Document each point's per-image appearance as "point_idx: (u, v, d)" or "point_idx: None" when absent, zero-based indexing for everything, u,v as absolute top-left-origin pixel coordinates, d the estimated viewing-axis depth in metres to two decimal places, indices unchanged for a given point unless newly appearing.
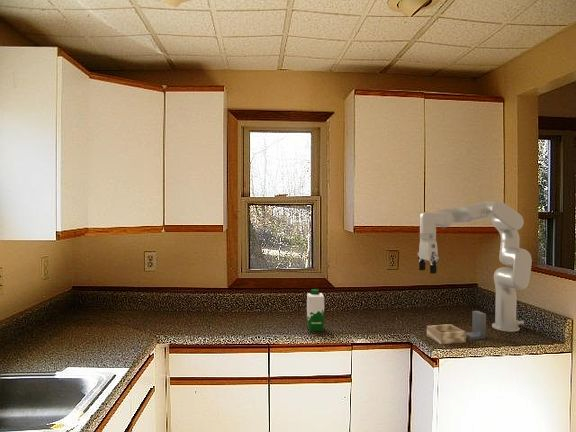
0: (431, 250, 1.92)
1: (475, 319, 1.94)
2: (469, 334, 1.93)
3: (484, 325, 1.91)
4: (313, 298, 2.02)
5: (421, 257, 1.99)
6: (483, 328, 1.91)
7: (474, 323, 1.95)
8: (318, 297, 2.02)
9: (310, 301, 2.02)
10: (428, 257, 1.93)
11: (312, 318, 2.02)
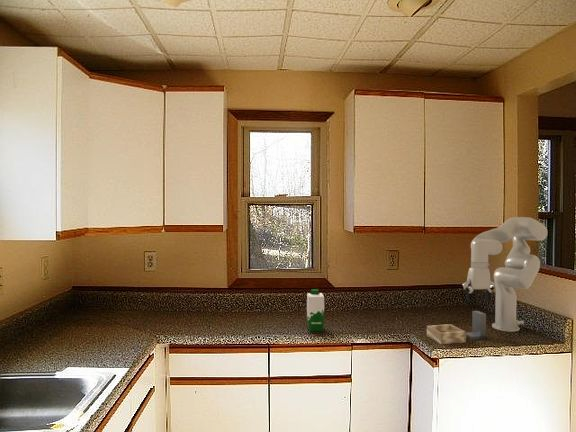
0: None
1: (475, 319, 1.94)
2: (469, 334, 1.93)
3: (484, 325, 1.91)
4: (313, 298, 2.02)
5: (477, 287, 1.91)
6: (483, 328, 1.91)
7: (474, 323, 1.95)
8: (318, 297, 2.02)
9: (310, 301, 2.02)
10: (489, 285, 1.92)
11: (312, 318, 2.02)
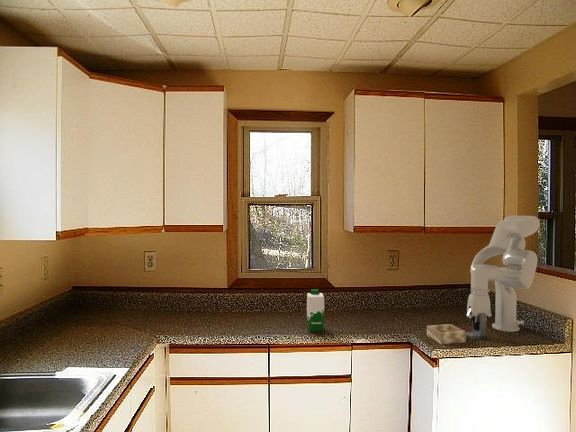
0: None
1: None
2: (469, 334, 1.93)
3: (484, 325, 1.91)
4: (313, 298, 2.02)
5: (478, 314, 1.91)
6: (483, 328, 1.91)
7: None
8: (318, 297, 2.02)
9: (310, 301, 2.02)
10: (489, 312, 1.92)
11: (312, 318, 2.02)
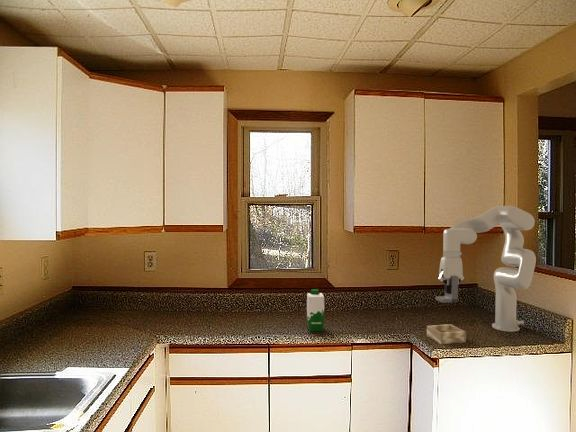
0: None
1: None
2: (441, 297, 1.90)
3: (456, 288, 1.88)
4: (313, 298, 2.02)
5: (449, 277, 1.88)
6: (455, 291, 1.88)
7: None
8: (318, 297, 2.02)
9: (310, 301, 2.02)
10: (461, 274, 1.89)
11: (312, 318, 2.02)
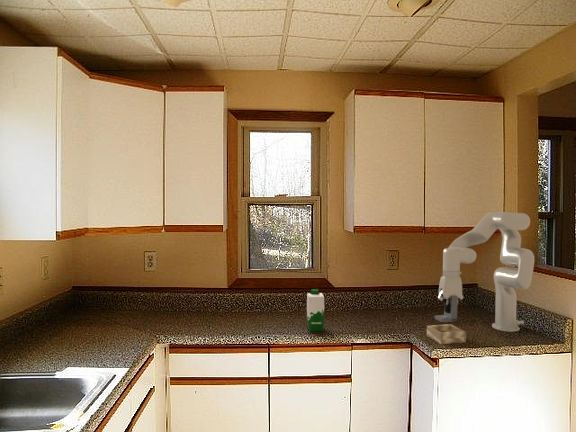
0: None
1: None
2: (440, 317, 1.90)
3: (455, 307, 1.88)
4: (313, 298, 2.02)
5: (449, 296, 1.88)
6: (454, 310, 1.88)
7: None
8: (318, 297, 2.02)
9: (310, 301, 2.02)
10: (460, 294, 1.90)
11: (312, 318, 2.02)
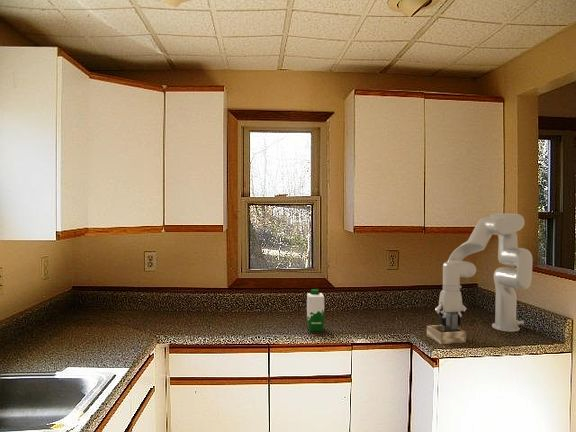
0: None
1: (447, 319, 1.92)
2: None
3: (456, 325, 1.88)
4: (313, 298, 2.02)
5: (449, 310, 1.89)
6: (455, 328, 1.88)
7: (446, 323, 1.92)
8: (318, 297, 2.02)
9: (310, 301, 2.02)
10: (461, 308, 1.90)
11: (312, 318, 2.02)
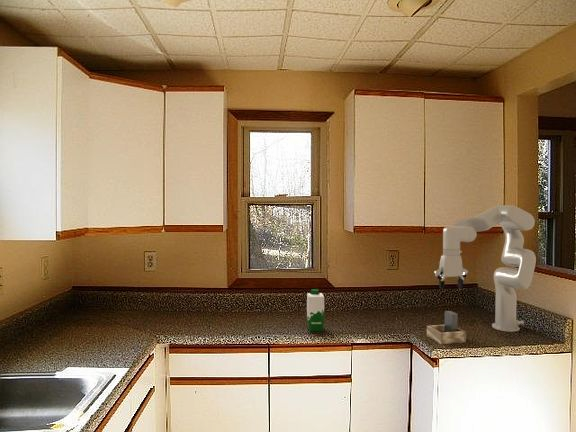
0: None
1: (447, 319, 1.92)
2: None
3: (456, 325, 1.88)
4: (313, 298, 2.02)
5: (449, 275, 1.88)
6: (455, 328, 1.88)
7: (446, 323, 1.92)
8: (318, 297, 2.02)
9: (310, 301, 2.02)
10: (461, 272, 1.89)
11: (312, 318, 2.02)
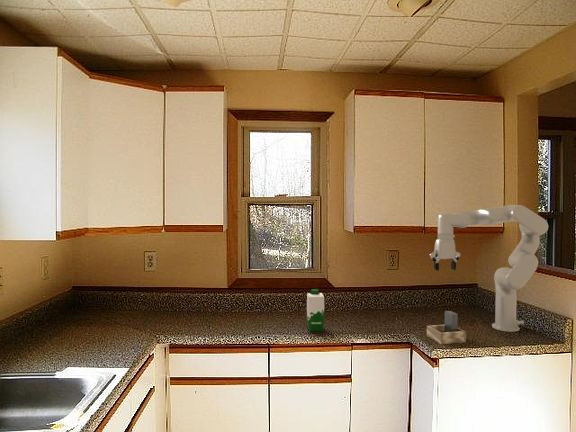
0: None
1: (447, 319, 1.92)
2: None
3: (456, 325, 1.88)
4: (313, 298, 2.02)
5: (443, 257, 2.06)
6: (455, 328, 1.88)
7: (446, 323, 1.92)
8: (318, 297, 2.02)
9: (310, 301, 2.02)
10: (454, 255, 2.07)
11: (312, 318, 2.02)
